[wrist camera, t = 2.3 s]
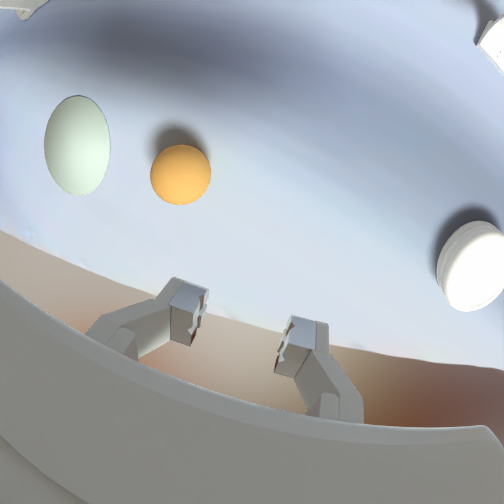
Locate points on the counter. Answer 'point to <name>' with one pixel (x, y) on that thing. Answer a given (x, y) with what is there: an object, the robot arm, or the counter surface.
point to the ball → (180, 174)
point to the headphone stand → (493, 43)
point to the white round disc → (472, 266)
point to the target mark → (77, 145)
